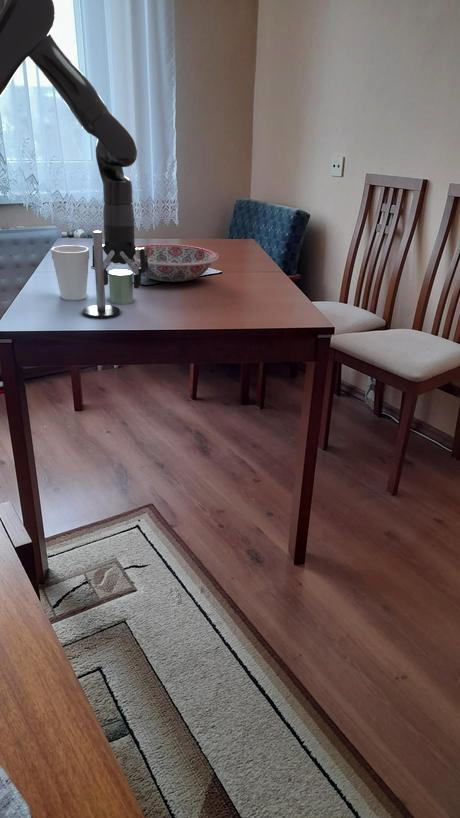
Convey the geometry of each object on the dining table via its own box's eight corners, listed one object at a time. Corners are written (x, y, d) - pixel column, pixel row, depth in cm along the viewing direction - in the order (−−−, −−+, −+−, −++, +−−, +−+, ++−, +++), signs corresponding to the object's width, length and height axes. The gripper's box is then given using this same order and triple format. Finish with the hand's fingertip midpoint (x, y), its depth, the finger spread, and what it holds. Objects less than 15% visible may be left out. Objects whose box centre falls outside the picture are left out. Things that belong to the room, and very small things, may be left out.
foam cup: (79, 305, 143) (75, 254, 137) (48, 300, 146) (43, 250, 140) (98, 296, 151) (95, 247, 145) (69, 291, 154) (65, 243, 148)
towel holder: (112, 322, 133) (108, 236, 124) (77, 318, 134) (70, 233, 125) (125, 311, 141) (122, 230, 132) (91, 307, 142) (86, 227, 133)
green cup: (129, 306, 145) (128, 275, 141) (106, 304, 146) (105, 273, 142) (136, 300, 150) (135, 270, 146) (114, 297, 151) (113, 268, 147)
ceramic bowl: (227, 291, 163) (228, 264, 159) (127, 292, 156) (126, 264, 152) (206, 268, 188) (207, 244, 184) (119, 268, 181) (118, 243, 177)
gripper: (85, 222, 136) (89, 287, 143) (141, 226, 134) (142, 292, 142) (97, 217, 143) (100, 280, 150) (150, 222, 141) (151, 285, 148)
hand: (121, 286), depth 146 cm, fingers open, 8 cm apart
